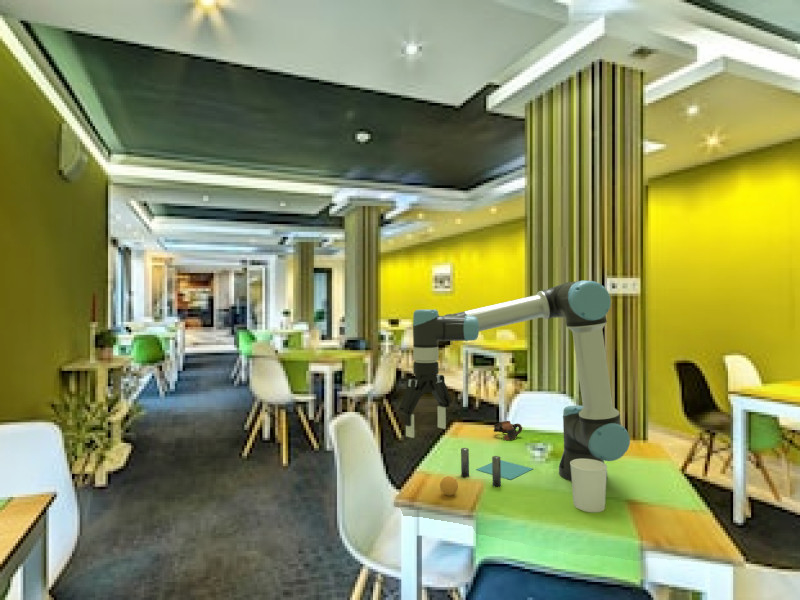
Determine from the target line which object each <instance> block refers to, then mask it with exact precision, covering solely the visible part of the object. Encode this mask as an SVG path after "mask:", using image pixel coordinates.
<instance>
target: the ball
mask: <svg viewBox="0 0 800 600" xmlns="http://www.w3.org/2000/svg"><path fill="white" fill-rule="evenodd" d="M439 489H440V491H441V492H442V493H443V495H446V497H447V496H448V497H450V496H454V495H456V493H457V491H458V489H459V483H458V481H457V479H456V478H455V477H453V476H449V475H448V476H445V477H443V478H441V480H440V483H439Z"/></svg>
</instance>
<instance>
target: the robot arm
mask: <svg viewBox="0 0 800 600" xmlns="http://www.w3.org/2000/svg"><path fill="white" fill-rule="evenodd" d="M611 299H612V298H611V296H610V293H609V291H608V290H607V289H606V287H605V286H604V285H602V284H601V283H599V282H598V281H594V280H587V279H586V280H578V281H568V282H564V283H561V284H557V285H556V286H553V287H550V288H549V287H548V288H547V289H543V290H539V291H537V293H536V294H534V295H529V296H524V297H521V298H517V299H513V300H508V301H504V302H500V303H495V304H492V305H491V304H490V305H486V306H482V307H477V308H473V309H470V310H469V309H468V310H465V311H460V312H457V313H456V312H455V313H447V314H445V315H440V314H439V311H438V310H437V309H416V310H414V311H413V318H412V321H413V322H412V338H413V339H412V340H413V341H412V344H413V345H412V347H413V349H412V350H413V351H412V352H413V354H412V355H413V356H412V357H413V360H414V362H413V365H412V366H413V367H412V369H413V372H412V373H413V374H414V376H415V377H414V379H410V378H409V379H407V380H406V387H405V390H404V393H403V395H402V399H401V402H400V405H399V408H398V412H399V413H400V414H403V415H404V426H405V437H407V438H412V439H414V438H415V414H413V413H414V410H415V409H416V407H417V405H418V403H419V401H420V399H421V397H422V396H423V395H425V394H428V393H431V394H432V396H433V398H434V399H435V401H436V402H437V403H438V404H439V405H438V406H437V428H439V429H443V430H446V429H447V426H446V425H447V424H446V423H447V410H448V409H447V408H449V407H450V405H451V403H452V399H451V396H450V393H449V390H448V387H447V385H446V382H445V376H444V375H443V374H439V370H440V369H439V362H438V360H439V342H448V341H449V342H453V341H454V342H456V341H457V342H461V341H463V342H469V341H471V342H472V341H476V340H477V339H478V337H479V332H482V331H483V332H484V331H486V330H492V329H495V328H501V327H505V326H509V325H513V324H517V323H523V322H527V321H532V320H536V319H540V318H543V319H544V320H549V319H554V318H564V319H565V324H566V328H567V329H569V331H571V332H572V337H573V346H574V352H575V358H576V359H575V360H576V367H577V374H578V380H579V391H580V394H581V402H582V405H567V406H565V407H564V408H563V415H562V419H563V424H562V425H563V426H562V427H563V452H562V455H561V459H560V462H559V465H558V474H559V476H561V478H563V479H566V480H569V481H571V482H572V479H571V466H570V462H571V461H572V460H575V459H593V460H597V461H601V462H603V463H605V462H613V461H617V460H619V459H621V458H622V457H623V456H625V453H627V452H628V450H629V447H630V445H631V437H630V434H629V432H628V430H627V429H626V428H625V427H624V426H623V425H622V422H621V416H620V415H621V414H620V411H619V410H618V409H617V408H615V407H614V405H613V399H612V391H611V383H610V376H609V374H610V373H609V368H608V362H607V354H606V347H605V340H604V339H605V338H604V332H603V329H604V327H605V326H606V325H607V324H608V322H607V314H608V312H609V311H610V309H611V307H612V306H611V305H612V301H611ZM607 480H608V475H607V476H606V481H607Z"/></svg>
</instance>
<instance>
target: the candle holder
mask: <svg viewBox="0 0 800 600" xmlns="http://www.w3.org/2000/svg"><path fill="white" fill-rule="evenodd" d="M570 466H571V479H572V481H571V489H572V502H573V506H574V507H575V508H576V509H577V508H578V509H577V510H579V509H580V511H582V510H583V511H582V512H586V513H595V514H596V513H600V512H603V511H604V510H605V509H606V497H607V496H606V495H607V494H606V493H607V480H606V476H607V477H608V465H607V464H606V463H605V462H604V463H603V462H601V461H597V460H593V459H575V460H572V461H571V462H570Z"/></svg>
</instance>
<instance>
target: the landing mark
mask: <svg viewBox="0 0 800 600" xmlns="http://www.w3.org/2000/svg"><path fill="white" fill-rule="evenodd" d="M500 460H501V479H505V478H506V480H509V479H510V480H509V481H512V480H514V479H516V478H518V477H520V476H522V475H525V474H526V473H528V472H531V471H532V470H534V468H532V467H528V466H525V465H521V464H518V463H513V462H509V461H506V460H503V459H500ZM475 470H476V471H478V472H481V473H485V474H489V475H492V462H490V463H488V464H485V465H483V466H480V467H478V468H476V469H475Z"/></svg>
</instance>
